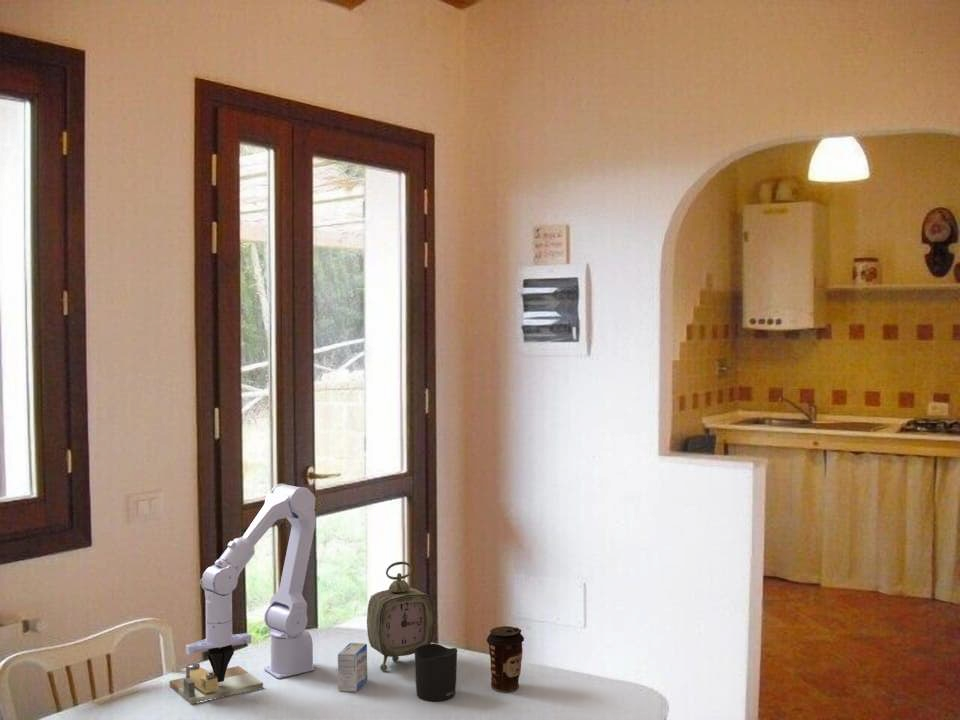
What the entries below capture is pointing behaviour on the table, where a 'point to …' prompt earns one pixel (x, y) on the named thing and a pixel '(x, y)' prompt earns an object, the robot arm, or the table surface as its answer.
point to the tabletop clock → (399, 619)
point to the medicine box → (352, 667)
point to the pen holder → (435, 672)
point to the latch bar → (202, 678)
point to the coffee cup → (505, 657)
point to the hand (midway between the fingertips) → (219, 680)
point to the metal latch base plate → (232, 684)
